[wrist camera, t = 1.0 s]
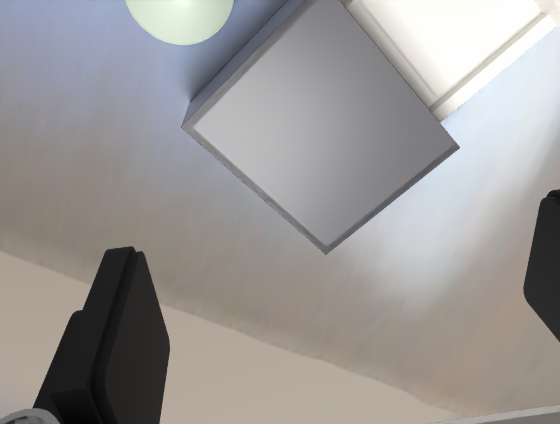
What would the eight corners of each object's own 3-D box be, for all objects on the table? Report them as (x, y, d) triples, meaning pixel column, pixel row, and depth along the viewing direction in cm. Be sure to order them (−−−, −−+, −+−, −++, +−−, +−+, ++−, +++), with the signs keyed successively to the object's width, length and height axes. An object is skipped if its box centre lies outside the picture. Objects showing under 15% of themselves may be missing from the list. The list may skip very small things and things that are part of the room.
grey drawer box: (311, -25, 32) (323, -19, 27) (432, 121, 37) (460, 147, 32) (189, 102, 35) (181, 127, 30) (316, 218, 41) (325, 254, 36)
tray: (458, -153, 28) (480, -162, 25) (558, 14, 32) (586, 20, 30) (308, 0, 31) (314, 6, 28) (419, 130, 36) (433, 145, 33)
